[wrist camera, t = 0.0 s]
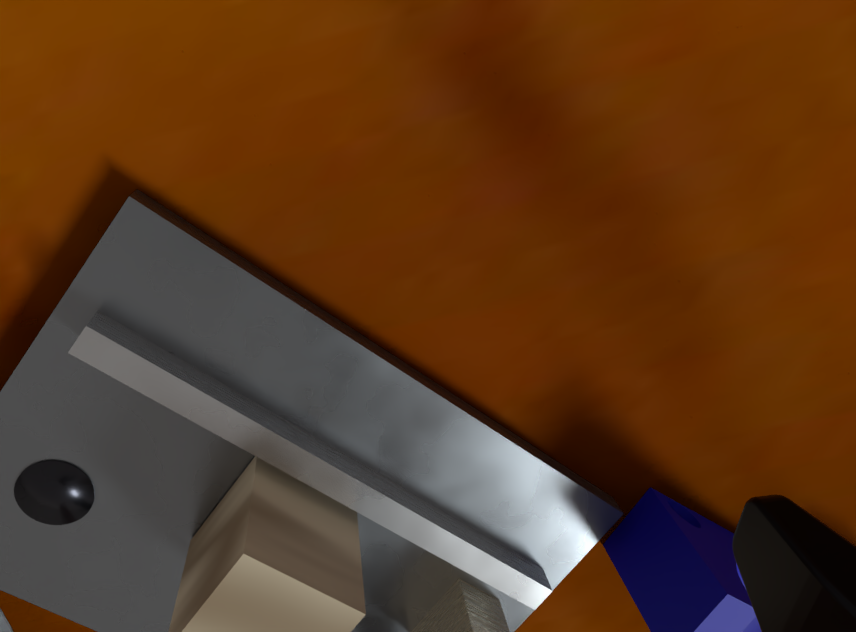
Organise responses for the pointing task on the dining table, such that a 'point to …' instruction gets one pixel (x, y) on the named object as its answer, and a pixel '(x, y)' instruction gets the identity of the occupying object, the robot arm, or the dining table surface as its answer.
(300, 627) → the block
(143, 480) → the drilled plate
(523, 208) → the dining table surface
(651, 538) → the cable clip
